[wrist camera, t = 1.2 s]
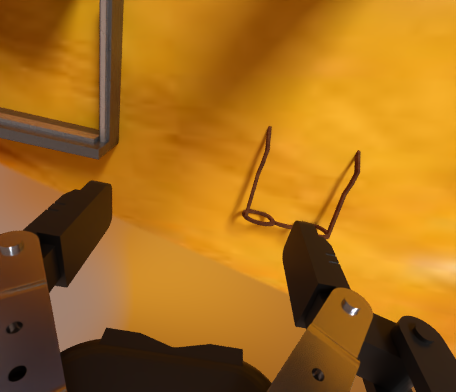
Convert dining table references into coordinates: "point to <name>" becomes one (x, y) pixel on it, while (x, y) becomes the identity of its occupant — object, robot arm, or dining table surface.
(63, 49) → the dining table surface
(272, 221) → the glasses
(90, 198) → the robot arm
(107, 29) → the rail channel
